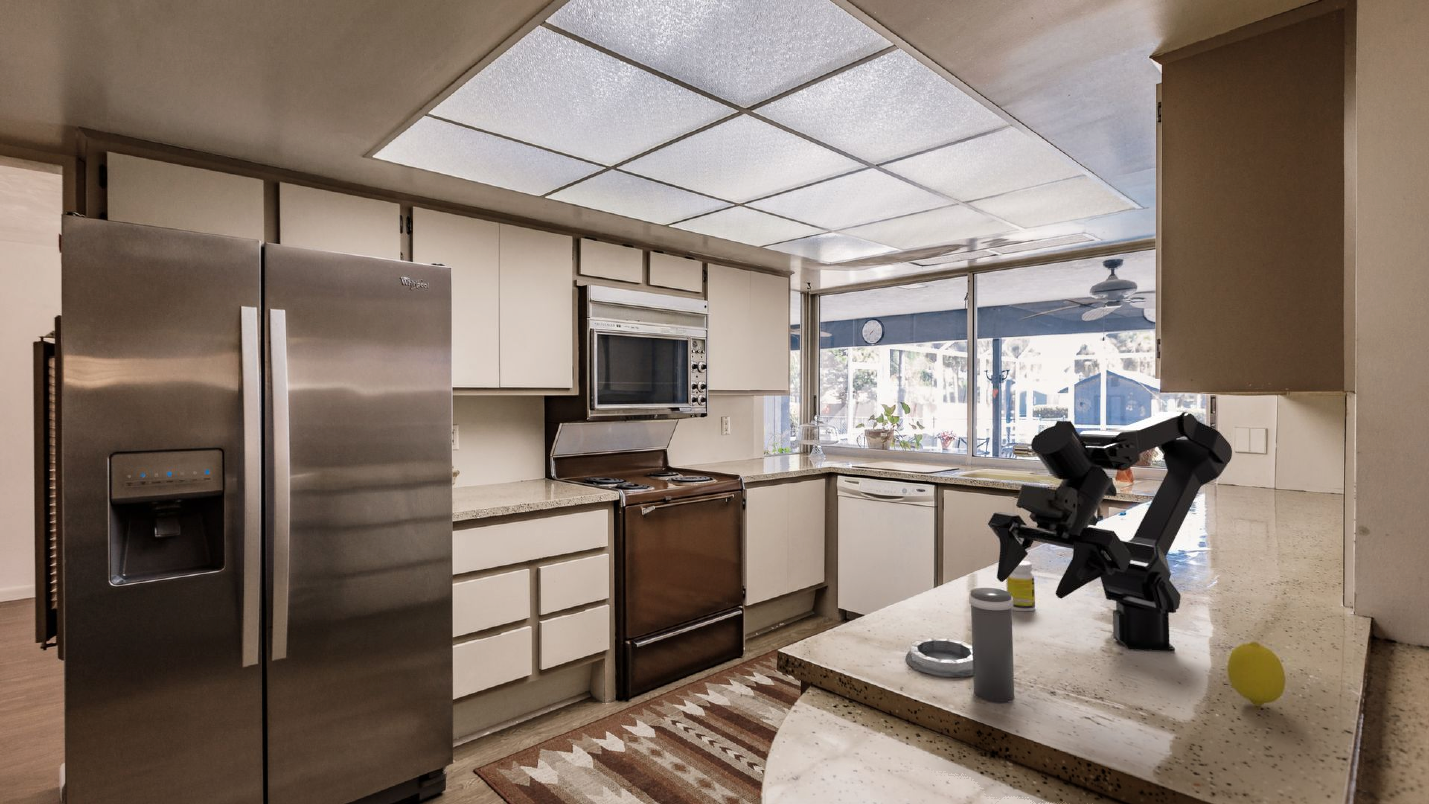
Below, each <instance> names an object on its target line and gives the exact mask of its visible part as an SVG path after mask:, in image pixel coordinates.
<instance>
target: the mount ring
mask: <svg viewBox="0 0 1429 804" xmlns="http://www.w3.org/2000/svg"><path fill="white" fill-rule="evenodd" d="M905 661H906V663H907V664H908V665H909V666H910V668H912V669H913V670H915V671H918V672H921V673H924V674H927V675H930V676H933V677H941V678H949V679H950V678H951V679H955V678H967V677H973V655H972V644H971V645H970V644H969V643H967V642H966V641H965V642H964V641H961V640H956V639H952V638H942V637H941V638H940V637H929V638H923V639H917V640H916V641H914V642H913V643H911V644H910V645H909V651H908V652H907V653H906V656H905Z"/></svg>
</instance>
